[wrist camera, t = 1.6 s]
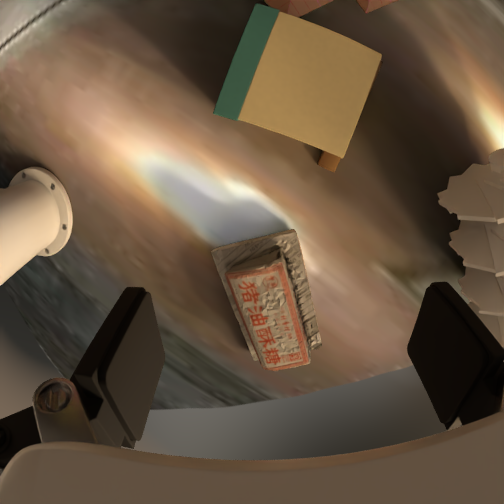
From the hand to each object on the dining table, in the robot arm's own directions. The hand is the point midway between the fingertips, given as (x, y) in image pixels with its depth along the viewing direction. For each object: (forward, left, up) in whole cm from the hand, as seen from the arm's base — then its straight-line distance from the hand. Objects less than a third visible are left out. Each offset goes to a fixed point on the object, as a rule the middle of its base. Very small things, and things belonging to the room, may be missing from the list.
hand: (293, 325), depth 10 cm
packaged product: (+7, -14, -25) cm, 29 cm away
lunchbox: (-2, +10, -25) cm, 27 cm away
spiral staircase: (+30, +7, -25) cm, 39 cm away
